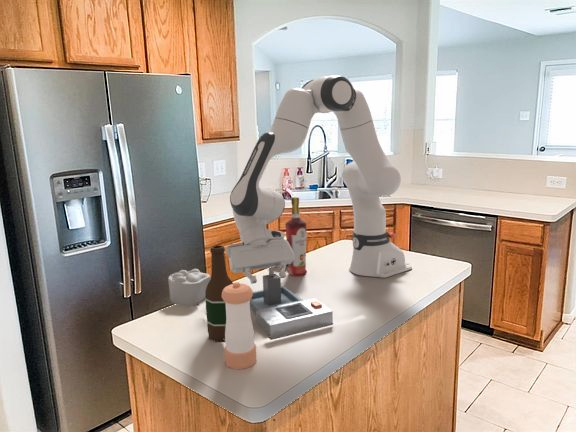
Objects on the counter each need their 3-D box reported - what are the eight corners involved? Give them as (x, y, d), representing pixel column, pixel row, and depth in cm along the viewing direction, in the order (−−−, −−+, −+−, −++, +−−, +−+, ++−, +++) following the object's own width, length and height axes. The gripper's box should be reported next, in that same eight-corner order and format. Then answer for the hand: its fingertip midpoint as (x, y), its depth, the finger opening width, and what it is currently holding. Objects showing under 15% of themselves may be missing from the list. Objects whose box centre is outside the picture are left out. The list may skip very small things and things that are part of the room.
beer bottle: (205, 332, 121) (198, 244, 116) (234, 327, 124) (229, 241, 119) (211, 345, 114) (204, 252, 109) (241, 339, 117) (236, 248, 111)
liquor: (300, 270, 167) (298, 194, 161) (311, 276, 161) (310, 197, 155) (283, 274, 163) (280, 197, 157) (294, 280, 157) (292, 200, 151)
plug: (276, 298, 140) (274, 265, 137) (281, 303, 136) (280, 269, 134) (263, 301, 138) (262, 268, 136) (268, 305, 134) (267, 271, 132)
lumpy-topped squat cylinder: (196, 307, 137) (193, 280, 135) (161, 301, 143) (159, 275, 141) (215, 295, 146) (213, 269, 145) (182, 290, 152) (180, 265, 150)
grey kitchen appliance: (315, 311, 132) (314, 295, 131) (332, 324, 123) (332, 308, 122) (256, 324, 125) (255, 308, 124) (270, 340, 116) (270, 322, 115)
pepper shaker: (248, 371, 102) (243, 289, 98) (219, 365, 104) (213, 286, 100) (261, 355, 108) (258, 278, 104) (234, 350, 111) (229, 275, 107)
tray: (284, 293, 146) (284, 285, 146) (304, 308, 134) (303, 300, 133) (242, 301, 141) (242, 294, 140) (259, 318, 128) (258, 310, 128)
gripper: (225, 239, 137) (237, 280, 130) (287, 231, 145) (302, 269, 139) (222, 250, 142) (233, 290, 135) (282, 241, 150) (296, 279, 144)
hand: (269, 279), depth 137 cm, fingers open, 8 cm apart
